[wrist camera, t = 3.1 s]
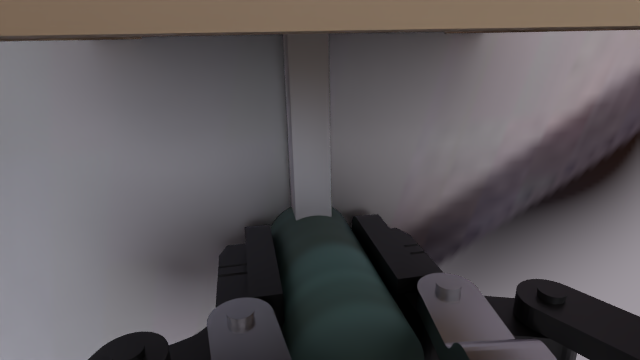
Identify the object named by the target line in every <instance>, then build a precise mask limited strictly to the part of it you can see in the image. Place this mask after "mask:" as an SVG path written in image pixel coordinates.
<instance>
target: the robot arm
mask: <svg viewBox="0 0 640 360" xmlns="http://www.w3.org/2000/svg"><path fill="white" fill-rule="evenodd" d="M352 231H353V233H354V235H355V236H356V238H357V239H358V241H359V243H360V244H361V246H362V248H363V249H364V251H365V253H366V254H367V256H368V258H369V259H370V261H371V262H372V264H373V266H374V267H375V269H376V271H377V272H378V274H379V276H380V277H381V279H382V281H383V282H384V284H385V285H386V287H387V289H388V290H389V292H390V294H391V295H392V297H393V299H394V300H395V302H396V303H397V305H398V307H399V308H400V310H401V312H402V313H403V315H404V317H405V318H406V320H407V322H408V323H409V325H410V326H411V328H412V330H413V331H414V333H415V335H416V336H417V338H418V340H419V342H420V343H421V346H422V349H423V352H424V360H576V355H577V353H578V354H580V355H582V356H584V357H586V358H587V359H589V360H640V317H639V316H637V315H634V314H632V313H630V312H627V311H625V310H622V309H620V308H618V307H615V306H613V305H611V304H608V303H606V302H604V301H601V300H598V299H596V298H594V297H591V296H589V295H587V294H585V293H582V292H580V291H577V290H575V289H573V288H570V287H568V286H566V285H563V284H560V283H557V282H554V281H549V280H543V279H531V280H526V281H523V282H521V283H520V284H519V285H518V286H517V289H516V296H515V298H504V297H491V296H484V295H482V293H481V291H480V290H479V289H478V287H477V286H476V285H475V284H474V283H472V282H471V281H470V280H468V279H466V278H464V277H461V276H459V275H455V274H450V273H443V272H442V271H441V269H440V268H439V267H438V266H437V265H436V264H435V263H434V261H433V260H432V259H431V258H430V257H429V256H428V255H427V254H426V253H424V250H423V249H422V248H421V247H420V246H418V243H417V242H416V241H415V240H414V239H413V238H412V237H411V236H410V235H409V234H407V233H405V232H403V231H401V230H400V229H398V228H392V229H390V228H389V227H388V226H387V224H386V223H385V222H384V221H383V219H382V218H381V217H380V216H379V215H378V214H374V215H364V216H354V217H353V219H352ZM245 237H246V244H239V245H229V246H227V247H226V248H225V249H224V251H223V252H222V253H221V254H220V255H219V268H218V281H217V296H216V308H215V309H214V310H213V311H212V312H211V313H210V315H209V317H208V319H207V327H206V328H204V329H203V330H202V331H201V332H199V333H198V334H196V335H194V336H192V337H190V338H187V339H185V340H182V341H180V342H177V343H174V344H171V345H169V346H168V342H167V341H166V339H165V338H164V337H163V336H161V335H159V334H157V333H153V332H135V333H131V334H127V335H124V336H121V337H119V338H116V339H114V340H112V341H110V342H109V343H107V344H106V345H104V346H103V347H102V348H100V349H99V350H98V351H97V352H96V353H95V354H94V355H93V356H91V357H90V358H89V359H88V360H292V359H291V356H290V354H289V351H288V348H287V346H286V343H285V340H284V337H283V335H282V328H283V324H284V303H283V291H282V286H281V280H280V275H279V270H278V265H277V259H276V254H275V249H274V244H273V238H272V233H271V228H270V225H261V226H251V227H245Z"/></svg>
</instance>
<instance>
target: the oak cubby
mask: <svg viewBox="0 0 640 360" xmlns="http://www.w3.org/2000/svg"><path fill="white" fill-rule="evenodd" d="M599 30H640V0H0V41H51V40H115V39H142V37H157V36H216V35H274V34H332V33H391V32H445V34H447V33H500V32H549V31H599Z"/></svg>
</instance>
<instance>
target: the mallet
mask: <svg viewBox="0 0 640 360" xmlns="http://www.w3.org/2000/svg"><path fill="white" fill-rule="evenodd" d="M283 48H284V68H285V88H286V107H287V127H288V147H289V167H290V187H291V206H292V207H290V208H289V209H287V210H286V211H284V212H283V213H282V214H281V215H280V216H278V218H277V219H276V220H275V221H274V223H273V224H272V226H271V233H272V238H273V244H274V249H275V254H276V259H277V265H278V270H279V275H280V280H281V286H282V291H283V303H284V324H283V328H282V335H283V337H284V340H285V343H286V346H287V348H288V351H289V354H290V356H291V359H292V360H424V352H423V349H422V346H421V343H420V342H419V340H418V338H417V336H416V335H415V333H414V331H413V330H412V328H411V326H410V325H409V323H408V322H407V320H406V318H405V317H404V315H403V313H402V312H401V310H400V308H399V307H398V305H397V303H396V302H395V300H394V299H393V297H392V295H391V294H390V292H389V290H388V289H387V287H386V285H385V284H384V282H383V281H382V279H381V277H380V276H379V274H378V272H377V271H376V269H375V267H374V266H373V264H372V262H371V261H370V259H369V258H368V256H367V254H366V253H365V251H364V249H363V248H362V246H361V244H360V243H359V241H358V239H357V238H356V236H355V235H354V233H353V231H352V230H351V228H350V226H349V225H348V223H347V221H346V220H345V218H344V217H343V216H342V214H341V213H340V212H339V211H337V210H336V209H335V208H333V207H331V149H330V86H329V34H283Z"/></svg>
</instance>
